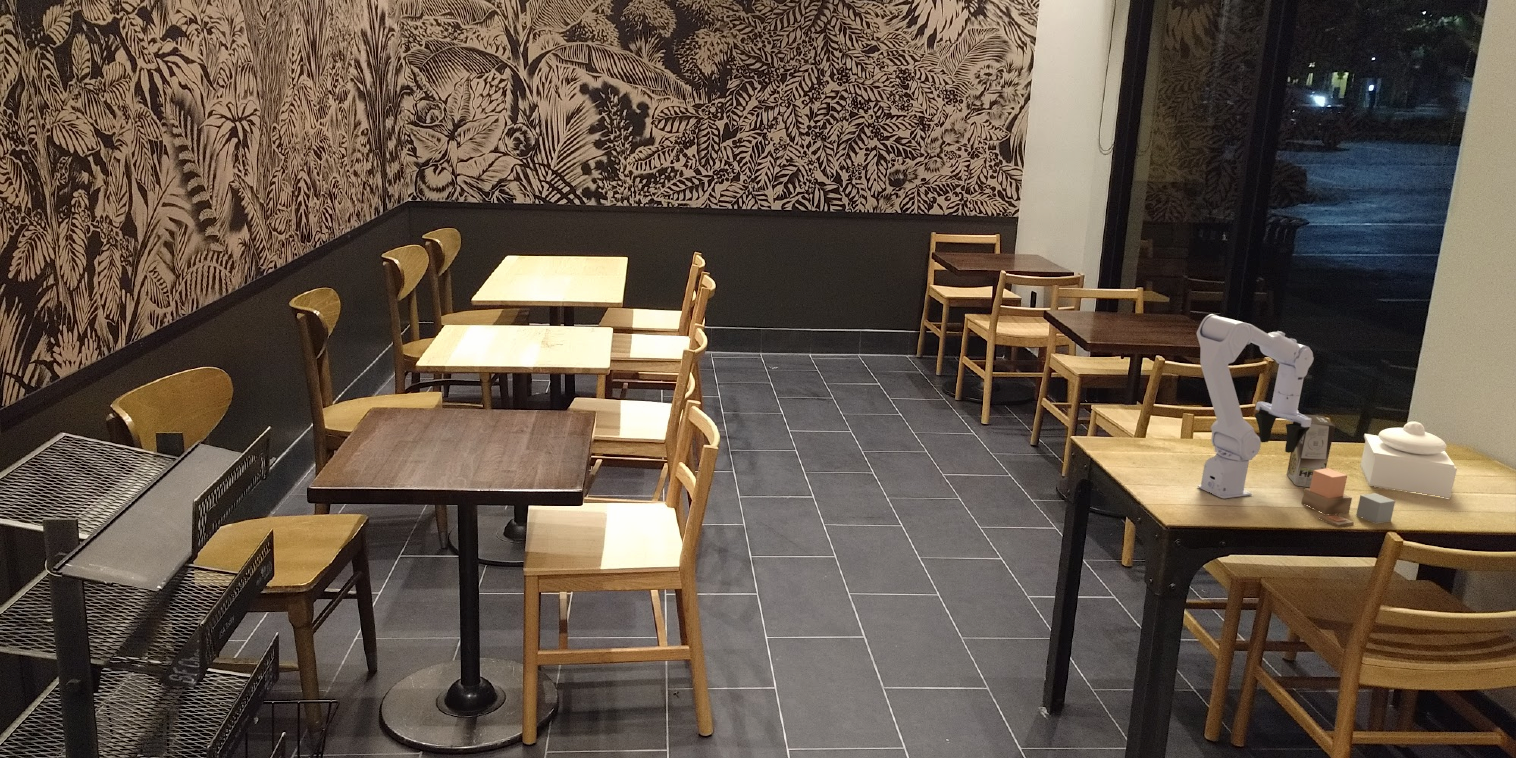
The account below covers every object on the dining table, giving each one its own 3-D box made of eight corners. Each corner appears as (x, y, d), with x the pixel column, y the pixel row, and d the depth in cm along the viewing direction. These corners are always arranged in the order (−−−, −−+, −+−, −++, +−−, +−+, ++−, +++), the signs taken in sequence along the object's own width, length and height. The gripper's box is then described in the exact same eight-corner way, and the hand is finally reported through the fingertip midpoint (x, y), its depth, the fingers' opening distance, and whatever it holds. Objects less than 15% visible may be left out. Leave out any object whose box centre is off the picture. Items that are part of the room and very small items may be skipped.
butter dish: (1449, 500, 270) (1464, 437, 265) (1366, 486, 276) (1379, 425, 271) (1435, 478, 285) (1449, 419, 281) (1357, 465, 292) (1370, 407, 287)
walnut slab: (1324, 515, 254) (1327, 499, 253) (1301, 504, 260) (1304, 488, 259) (1348, 514, 256) (1352, 497, 255) (1325, 502, 262) (1328, 486, 261)
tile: (1337, 527, 247) (1338, 523, 247) (1318, 518, 251) (1319, 515, 251) (1353, 524, 249) (1354, 521, 249) (1334, 516, 253) (1334, 512, 253)
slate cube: (1375, 523, 250) (1380, 503, 249) (1356, 515, 255) (1360, 495, 253) (1390, 521, 252) (1395, 500, 251) (1370, 513, 257) (1375, 493, 256)
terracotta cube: (1328, 498, 254) (1332, 477, 252) (1309, 490, 258) (1313, 470, 257) (1343, 495, 256) (1347, 475, 255) (1323, 488, 260) (1328, 468, 259)
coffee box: (1323, 489, 271) (1336, 426, 267) (1294, 486, 272) (1307, 422, 268) (1312, 477, 280) (1325, 415, 275) (1285, 473, 281) (1297, 412, 276)
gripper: (1324, 400, 260) (1313, 455, 264) (1275, 383, 273) (1265, 436, 276) (1303, 401, 257) (1291, 457, 261) (1253, 384, 270) (1243, 438, 274)
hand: (1276, 446), depth 268 cm, fingers open, 7 cm apart
